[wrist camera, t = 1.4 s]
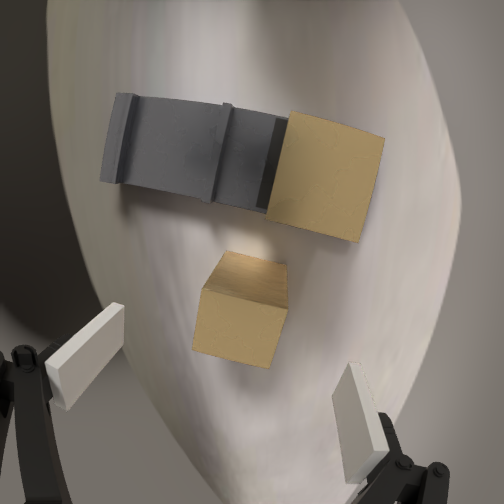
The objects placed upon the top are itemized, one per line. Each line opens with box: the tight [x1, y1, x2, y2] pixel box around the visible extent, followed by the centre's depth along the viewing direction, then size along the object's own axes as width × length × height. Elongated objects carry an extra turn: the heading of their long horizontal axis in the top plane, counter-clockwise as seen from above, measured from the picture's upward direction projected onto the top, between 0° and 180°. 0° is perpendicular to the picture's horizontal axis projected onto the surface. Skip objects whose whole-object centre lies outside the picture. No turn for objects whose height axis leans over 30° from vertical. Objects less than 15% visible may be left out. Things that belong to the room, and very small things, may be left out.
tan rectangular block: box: [192, 251, 288, 369], centre depth 21 cm, size 5×5×8 cm
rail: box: [100, 93, 385, 243], centre depth 18 cm, size 7×20×10 cm, turn 77°
